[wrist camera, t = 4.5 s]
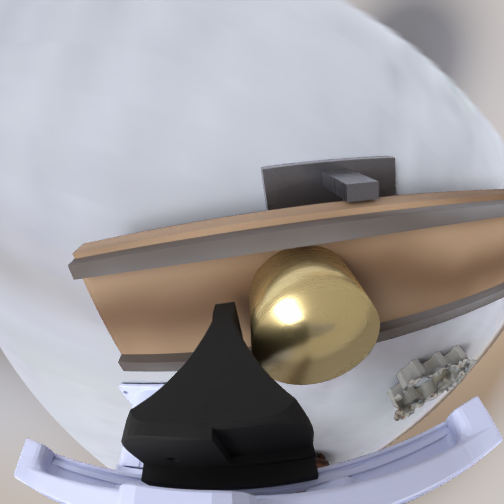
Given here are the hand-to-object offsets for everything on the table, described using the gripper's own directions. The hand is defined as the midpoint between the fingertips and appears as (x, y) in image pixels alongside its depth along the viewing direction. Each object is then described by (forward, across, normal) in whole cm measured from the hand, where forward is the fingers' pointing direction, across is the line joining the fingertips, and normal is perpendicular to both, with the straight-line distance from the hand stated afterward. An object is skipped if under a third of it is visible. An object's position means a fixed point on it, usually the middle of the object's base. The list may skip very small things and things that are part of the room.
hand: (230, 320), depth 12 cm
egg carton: (+6, -19, +19) cm, 28 cm away
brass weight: (+1, -3, 0) cm, 4 cm away
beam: (+2, -7, 0) cm, 7 cm away
